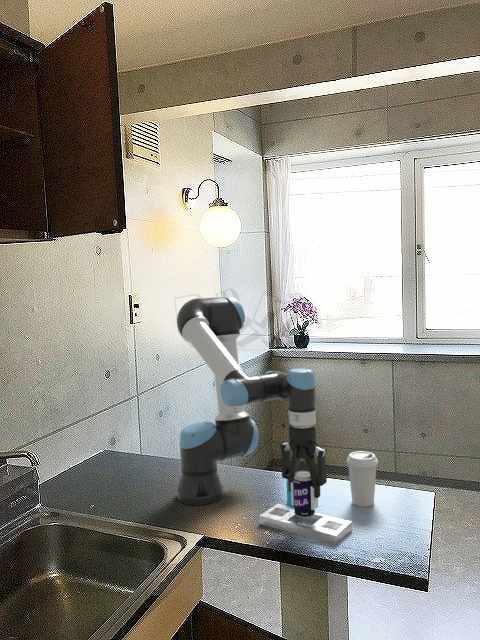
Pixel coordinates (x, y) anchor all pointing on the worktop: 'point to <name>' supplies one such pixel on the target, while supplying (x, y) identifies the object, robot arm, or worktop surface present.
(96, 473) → the worktop surface
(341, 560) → the worktop surface
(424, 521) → the worktop surface
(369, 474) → the coffee cup
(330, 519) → the white compartment tray
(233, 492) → the worktop surface
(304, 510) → the beverage can
